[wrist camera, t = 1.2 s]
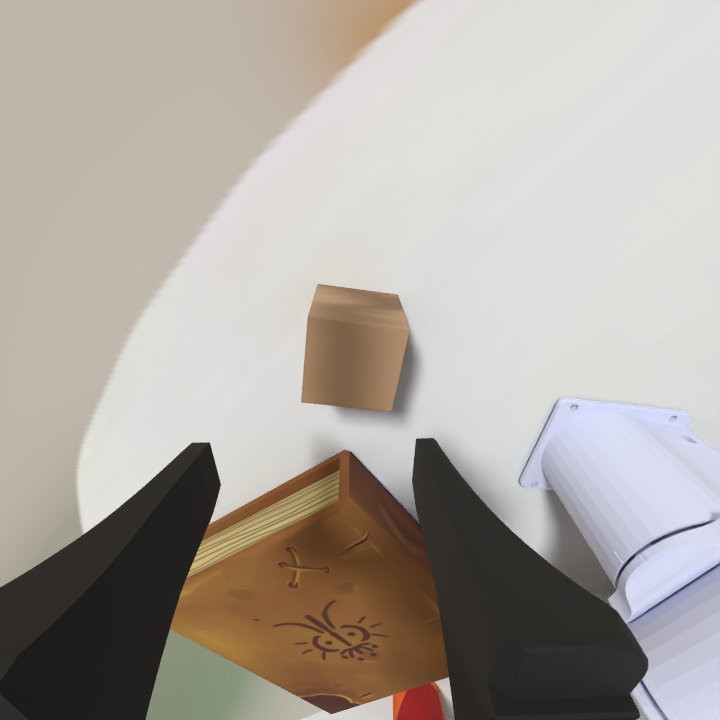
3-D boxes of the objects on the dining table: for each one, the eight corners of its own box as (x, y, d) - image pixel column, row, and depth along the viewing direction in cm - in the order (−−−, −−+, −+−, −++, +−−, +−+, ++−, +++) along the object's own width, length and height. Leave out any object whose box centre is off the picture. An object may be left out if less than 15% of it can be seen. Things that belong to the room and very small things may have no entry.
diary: (486, 587, 35) (509, 658, 30) (334, 644, 40) (331, 714, 35) (349, 442, 26) (348, 511, 21) (172, 541, 31) (136, 615, 26)
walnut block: (397, 294, 20) (410, 329, 16) (383, 363, 22) (391, 411, 18) (317, 283, 20) (307, 317, 15) (311, 355, 22) (301, 402, 18)
